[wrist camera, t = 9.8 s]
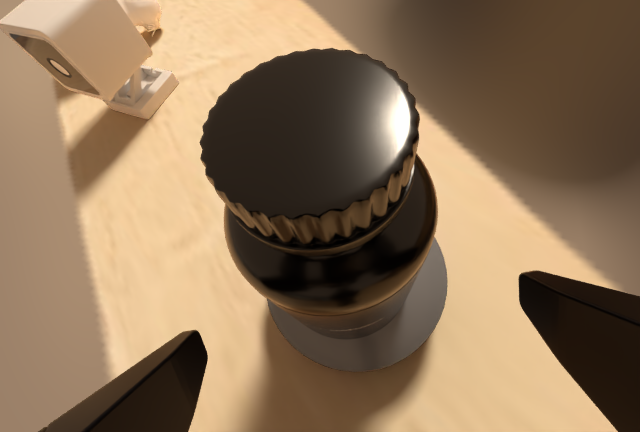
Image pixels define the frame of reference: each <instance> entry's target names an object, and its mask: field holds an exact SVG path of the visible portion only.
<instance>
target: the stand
mask: <svg viewBox="0 0 640 432" xmlns="http://www.w3.org/2000/svg"><path fill="white" fill-rule="evenodd" d="M446 295H447V270H446V265H445V261H444V257H443V254H442V252H441V249H440V247H439V245H438V243H437V241H436V239H435V237H434V239H433V242H432V245H431V248H430V251H429V253H428V255H427V258H426V260H425V262H424V264H423V266H422V268H421V270H420V272H419V274H418V276H417V278H416V280H415V282H414V284H413V286H412V289H411V291H410V293H409V295H408V297H407V299H406V301H405V303H404V304H403V306H402V308H401V309H400V311H399V312H398V314H397V315H396V316H395V317H394V319H393V320H392V321H391V322H390V323H388V324H387V325H386V326H385V327H383V328H382V329H380V330H379V331H377V332H375V333H373V334H371V335H369V336H365V337H362V338H357V339H349V340H345V339H334V338H330V337H326V336H323V335H321V334H318V333H316V332H314V331H313V330H311V329H309V328H308V327H306V326H305V325H303V324H302V323H300V322H299V321H298V320H296V319H295V318H293V317H292V316H291V315H289V314H288V313H286V312H285V311H284V310H282V309H281V308H279V307H278V306H277V305H275V304H274V303H273V302H271V301H270V300H268V299H267V301H268V306H269V309H270V312H271V315H272V317H273V319H274V321H275V323H276V325H277V327H278V329H279V330H280V331H281V333H282V334H283V336H284V337H285V338H286V339H287V341H288V342H289V343H290V344H291V345H292V346H293V347H294V348H295V349H297V350H298V351H299V352H300V353H302V354H303V355H304V356H306V357H308V358H309V359H311V360H313V361H314V362H316V363H319V364H321V365H324V366H326V367H329V368H333V369H337V370H342V371H351V372H364V371H373V370H378V369H382V368H385V367H388V366H391V365H393V364H395V363H397V362H399V361H401V360H402V359H404V358H406V357H407V356H409V355H410V354H412V353H413V352H414V351H416V350H417V349H418V348H419V347H420V346H421V345H422V344H423V343H424V342H425V341H426V340H427V338H428V337H429V336H430V334H431V333H432V332H433V330H434V329H435V327H436V325H437V323H438V321H439V319H440V317H441V314H442V311H443V309H444V305H445V300H446Z"/></svg>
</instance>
